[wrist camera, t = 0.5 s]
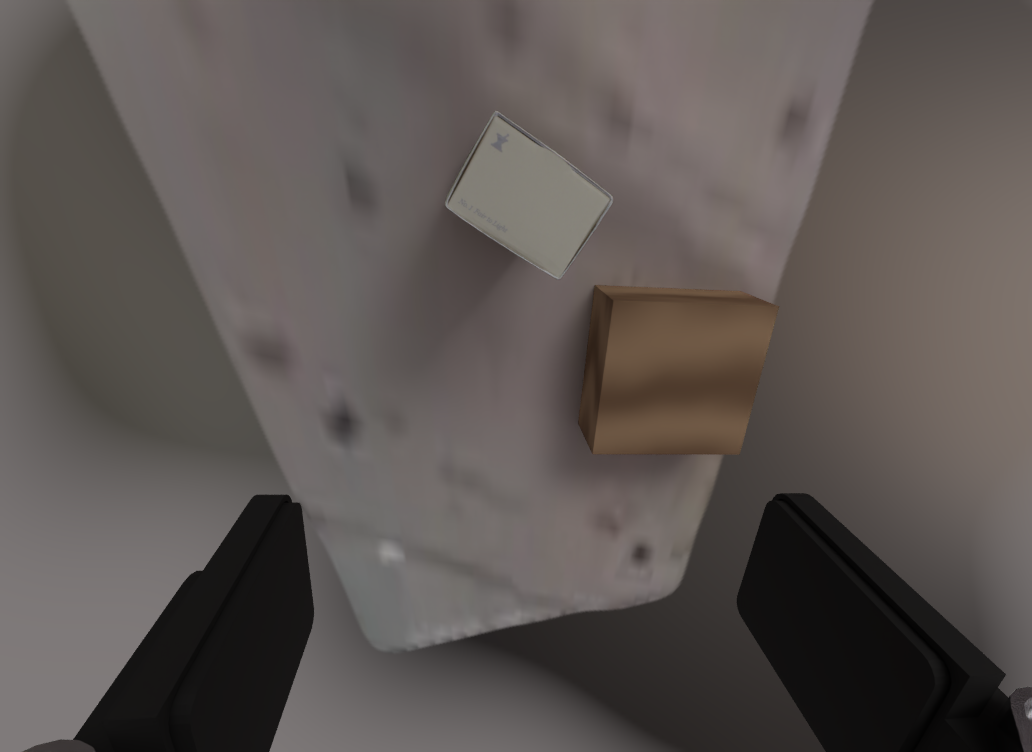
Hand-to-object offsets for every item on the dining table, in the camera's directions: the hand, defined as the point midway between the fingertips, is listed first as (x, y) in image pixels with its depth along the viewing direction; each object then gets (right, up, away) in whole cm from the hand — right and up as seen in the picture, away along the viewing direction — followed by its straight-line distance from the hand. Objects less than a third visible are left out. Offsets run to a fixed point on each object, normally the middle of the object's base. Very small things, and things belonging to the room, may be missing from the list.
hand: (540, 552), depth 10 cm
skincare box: (-1, +15, +22) cm, 27 cm away
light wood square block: (+10, +5, +27) cm, 30 cm away
